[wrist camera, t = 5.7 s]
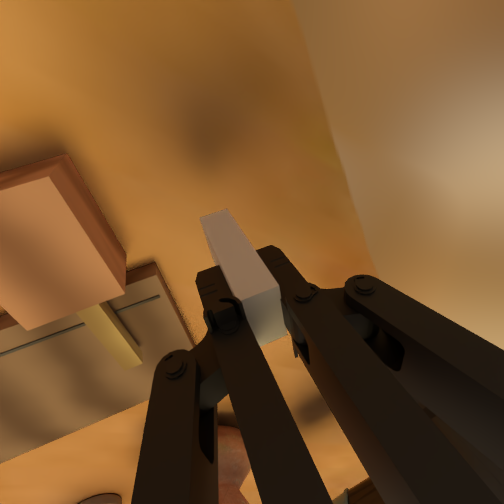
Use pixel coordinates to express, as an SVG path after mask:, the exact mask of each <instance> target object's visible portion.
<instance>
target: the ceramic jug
mask: <svg viewBox="0 0 504 504" xmlns="http://www.w3.org/2000/svg"><path fill="white" fill-rule="evenodd" d="M250 469H251V465H250V462H249V459H248V456H247V452H246V449H245V446H244V442H243V439H242V436H241V433H240V430H239V429H237V428H234V427H231V426H224V425H218V488H219V504H249V503H248V502H247V500H246V499H245V497H244V496H243V495H242V493H241V492H240V490H239V489H240V487H241V485H242V483H243V482H244V480H245V478H246V477H247V475H248V473H249V471H250Z"/></svg>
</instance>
